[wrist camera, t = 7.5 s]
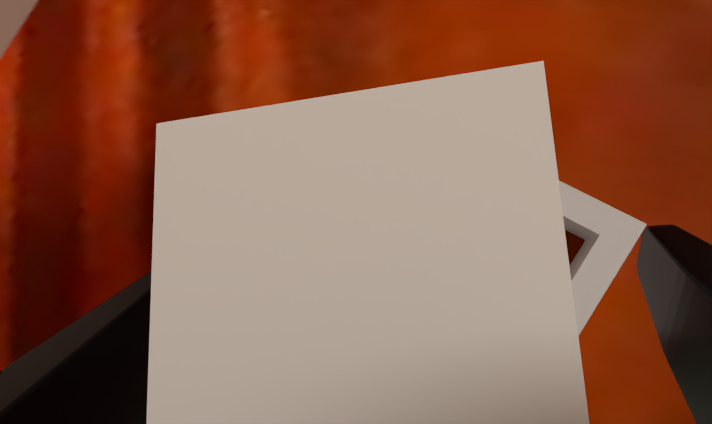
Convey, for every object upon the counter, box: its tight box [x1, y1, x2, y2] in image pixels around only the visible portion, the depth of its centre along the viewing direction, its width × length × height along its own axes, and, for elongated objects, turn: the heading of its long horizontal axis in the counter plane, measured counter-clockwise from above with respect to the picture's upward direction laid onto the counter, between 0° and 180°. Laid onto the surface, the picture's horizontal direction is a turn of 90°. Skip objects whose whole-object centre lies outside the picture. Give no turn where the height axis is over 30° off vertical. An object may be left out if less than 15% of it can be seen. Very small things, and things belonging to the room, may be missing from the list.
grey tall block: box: [146, 61, 589, 424], centre depth 11 cm, size 4×5×13 cm
